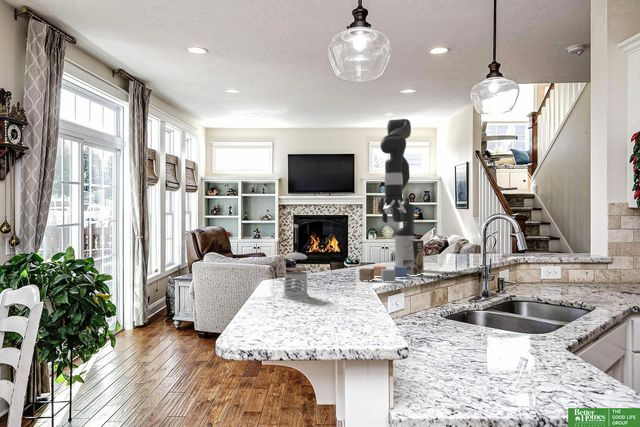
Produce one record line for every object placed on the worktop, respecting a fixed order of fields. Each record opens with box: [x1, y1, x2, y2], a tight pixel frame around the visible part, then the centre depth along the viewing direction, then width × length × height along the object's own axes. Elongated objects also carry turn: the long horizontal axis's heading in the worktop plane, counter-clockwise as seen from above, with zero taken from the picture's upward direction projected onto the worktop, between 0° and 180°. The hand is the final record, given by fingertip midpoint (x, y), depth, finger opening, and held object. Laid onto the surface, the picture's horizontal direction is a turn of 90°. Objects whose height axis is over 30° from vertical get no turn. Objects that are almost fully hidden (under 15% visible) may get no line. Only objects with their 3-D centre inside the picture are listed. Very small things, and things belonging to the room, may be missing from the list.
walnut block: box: [358, 267, 375, 281], centre depth 191 cm, size 5×5×5 cm
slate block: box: [380, 268, 396, 282], centre depth 189 cm, size 5×5×5 cm
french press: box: [276, 223, 311, 300], centre depth 155 cm, size 10×12×25 cm
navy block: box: [393, 265, 408, 278], centre depth 199 cm, size 5×5×5 cm
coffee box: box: [403, 239, 425, 275], centre depth 206 cm, size 9×6×16 cm
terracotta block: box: [373, 265, 387, 276], centre depth 201 cm, size 5×5×5 cm
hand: (394, 222), depth 190 cm, fingers open, 8 cm apart
